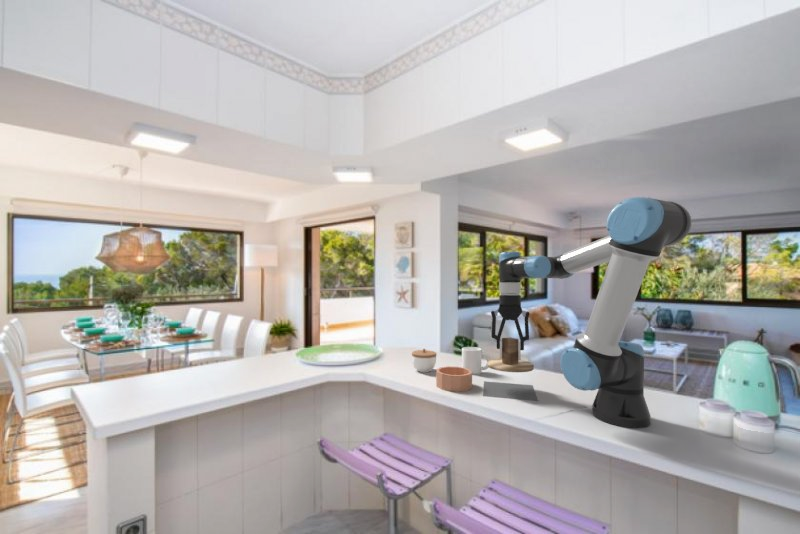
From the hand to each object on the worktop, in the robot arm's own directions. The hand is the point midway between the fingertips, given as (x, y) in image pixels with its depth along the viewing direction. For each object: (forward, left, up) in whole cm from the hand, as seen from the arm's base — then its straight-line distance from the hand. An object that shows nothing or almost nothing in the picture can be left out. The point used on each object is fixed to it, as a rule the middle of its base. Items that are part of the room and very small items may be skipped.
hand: (510, 358), depth 136 cm
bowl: (+14, +15, -12) cm, 24 cm away
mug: (+26, -5, -12) cm, 29 cm away
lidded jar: (+39, +13, -12) cm, 42 cm away
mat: (+1, 0, -12) cm, 12 cm away
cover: (0, 0, -3) cm, 3 cm away
